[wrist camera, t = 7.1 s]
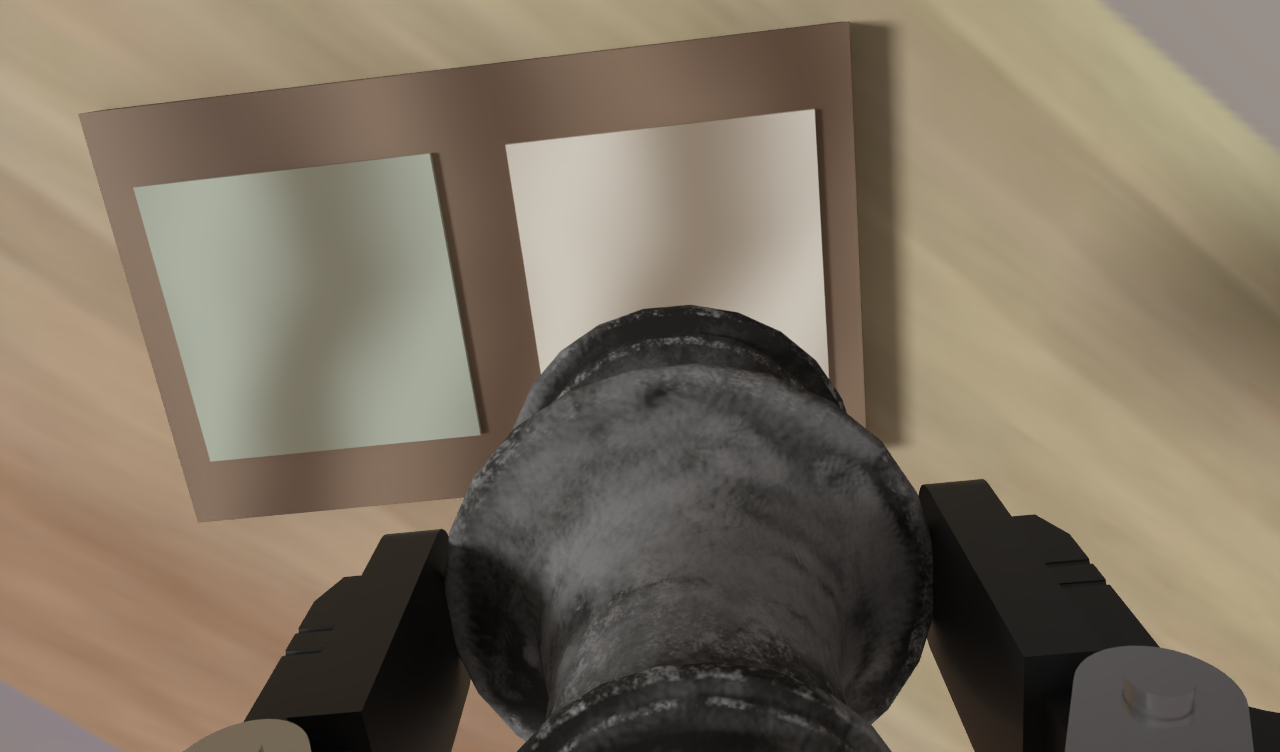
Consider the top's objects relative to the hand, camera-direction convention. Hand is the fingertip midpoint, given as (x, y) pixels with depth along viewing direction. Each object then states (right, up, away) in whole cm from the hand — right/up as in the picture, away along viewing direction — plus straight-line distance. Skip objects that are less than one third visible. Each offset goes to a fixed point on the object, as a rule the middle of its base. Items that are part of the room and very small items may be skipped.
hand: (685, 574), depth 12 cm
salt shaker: (0, +1, +3) cm, 3 cm away
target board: (-5, +5, +16) cm, 18 cm away
